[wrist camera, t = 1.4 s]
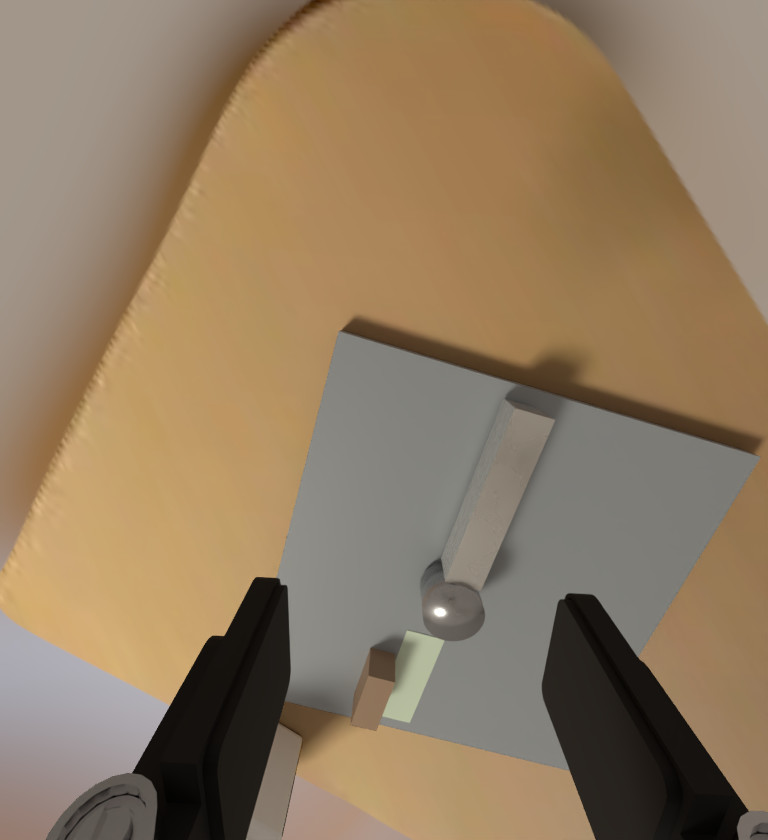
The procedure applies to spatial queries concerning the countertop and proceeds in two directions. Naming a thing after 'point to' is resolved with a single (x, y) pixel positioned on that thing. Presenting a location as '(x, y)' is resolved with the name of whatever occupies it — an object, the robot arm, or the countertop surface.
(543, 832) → the countertop surface
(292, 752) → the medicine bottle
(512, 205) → the countertop surface
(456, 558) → the swing bar
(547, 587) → the latch plate
